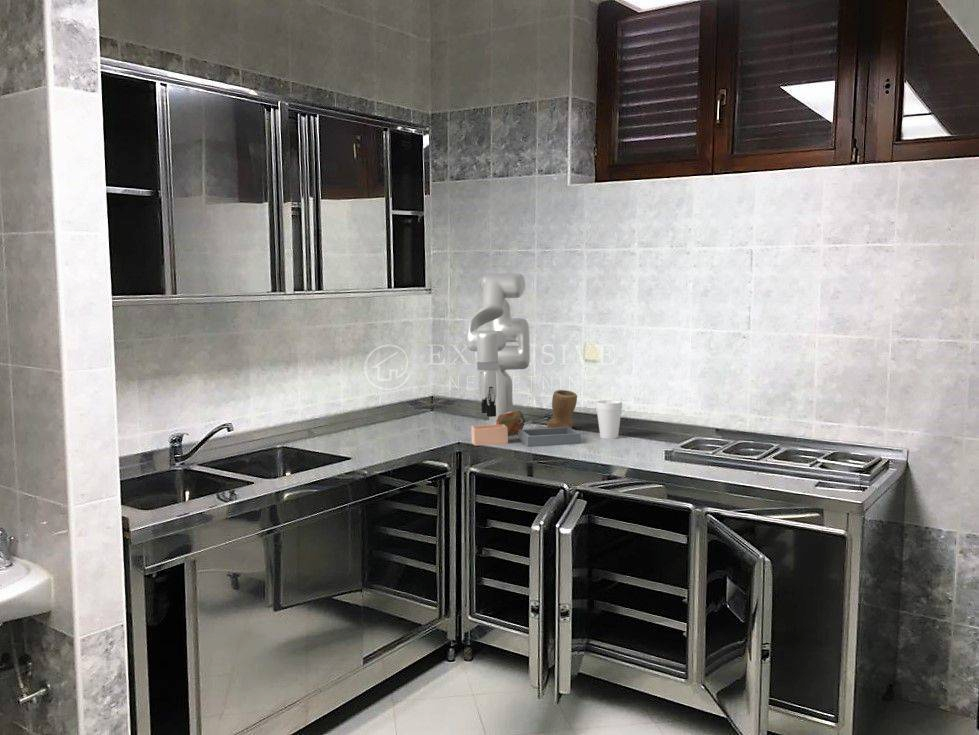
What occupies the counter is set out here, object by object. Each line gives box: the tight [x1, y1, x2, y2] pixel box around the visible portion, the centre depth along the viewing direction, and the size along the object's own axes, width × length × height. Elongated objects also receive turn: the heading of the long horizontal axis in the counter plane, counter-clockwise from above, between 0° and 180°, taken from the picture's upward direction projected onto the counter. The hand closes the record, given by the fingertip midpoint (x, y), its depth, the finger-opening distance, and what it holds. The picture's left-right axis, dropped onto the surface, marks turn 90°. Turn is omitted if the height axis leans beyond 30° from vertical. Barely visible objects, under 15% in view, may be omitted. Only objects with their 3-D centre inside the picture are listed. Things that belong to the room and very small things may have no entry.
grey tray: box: [517, 427, 582, 448], centre depth 310 cm, size 14×19×4 cm
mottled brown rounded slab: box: [496, 410, 525, 437], centre depth 327 cm, size 15×3×8 cm, turn 143°
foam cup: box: [595, 399, 623, 440], centre depth 315 cm, size 10×9×13 cm
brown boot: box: [546, 389, 578, 428], centre depth 335 cm, size 15×12×15 cm
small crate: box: [470, 424, 509, 446], centre depth 310 cm, size 6×12×6 cm, turn 101°
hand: (488, 414), depth 309 cm, fingers open, 9 cm apart
